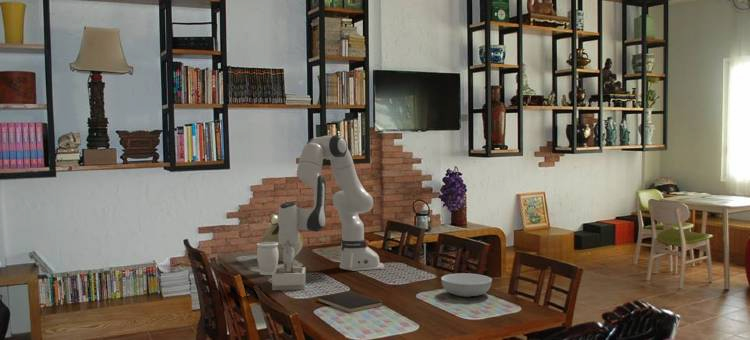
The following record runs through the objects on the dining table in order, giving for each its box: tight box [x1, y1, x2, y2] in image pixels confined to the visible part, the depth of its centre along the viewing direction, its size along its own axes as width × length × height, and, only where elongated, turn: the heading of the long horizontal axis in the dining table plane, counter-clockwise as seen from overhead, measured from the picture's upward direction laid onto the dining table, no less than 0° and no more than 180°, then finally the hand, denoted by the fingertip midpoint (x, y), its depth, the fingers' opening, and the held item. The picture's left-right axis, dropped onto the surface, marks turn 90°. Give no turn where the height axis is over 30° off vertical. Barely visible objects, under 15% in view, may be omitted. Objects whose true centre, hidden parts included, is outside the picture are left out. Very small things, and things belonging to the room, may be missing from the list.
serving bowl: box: [440, 272, 493, 298], centre depth 273 cm, size 21×21×7 cm
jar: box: [256, 242, 279, 276], centre depth 319 cm, size 11×10×15 cm
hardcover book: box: [316, 290, 384, 313], centre depth 261 cm, size 16×23×2 cm
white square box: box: [271, 266, 307, 291], centre depth 292 cm, size 14×14×7 cm
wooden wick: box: [283, 259, 295, 273], centre depth 292 cm, size 4×2×10 cm, turn 94°
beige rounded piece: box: [260, 212, 304, 263], centre depth 355 cm, size 22×24×25 cm
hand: (289, 270), depth 292 cm, fingers closed on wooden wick, 2 cm apart
